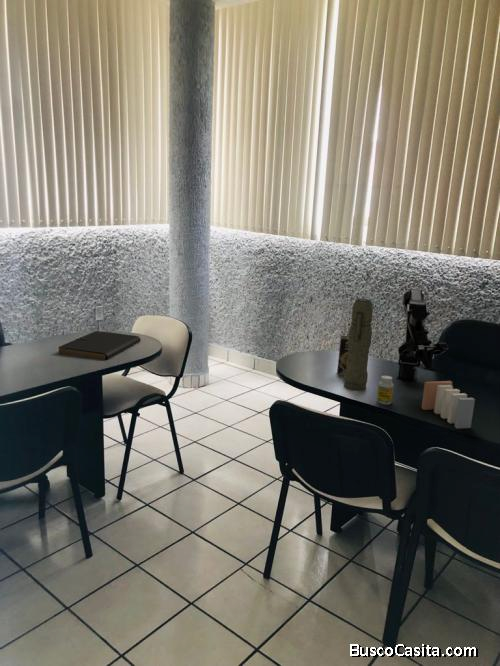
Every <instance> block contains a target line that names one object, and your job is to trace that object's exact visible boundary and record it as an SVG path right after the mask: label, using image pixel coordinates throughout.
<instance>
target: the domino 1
mask: <svg viewBox="0 0 500 666" xmlns="http://www.w3.org/2000/svg"><path fill="white" fill-rule="evenodd" d="M438 385H451V386H453V381H451V380H441V381H437V380H436V381H433V380H432V381H424V386H423V395H422V401H421V409H422V410H425V411H427V410H428V411H429V410H434V408H435V401H436V393H437V386H438Z"/></svg>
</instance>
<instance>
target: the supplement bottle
mask: <svg viewBox="0 0 500 666" xmlns="http://www.w3.org/2000/svg"><path fill="white" fill-rule="evenodd" d="M380 380H381V381H379V382H378V386H377V387H378V388H377V396H376V397H377V398H376V402H378V404H382V405H391V404H392V403H393V396H394V388H395V387H394V386H395V385H394V383H393V377H392V376H391V375H381V377H380Z"/></svg>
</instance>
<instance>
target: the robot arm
mask: <svg viewBox="0 0 500 666" xmlns="http://www.w3.org/2000/svg"><path fill="white" fill-rule="evenodd" d="M422 291H423V290H422V289H420V288H409V289H408V291H407V292H405V293H404V294H403V297H402V303H401V304H402V306H403V311H404V313H405V314H406V327H405V341H404V342H403V343H402V344H401V345H399V347H398V349H397V351H398V358H397V365H398V373H397V374H398V375H397V376H396V379H398V380H402V381H406V382H413V381H415V380H417V375H418V369H417V368H419V367H421V363H422V364H423V366H424V367H425V368H426V370H427V371H430V370H431V369H432V365H433V360H434V356H440V355H442V354H443V353H445V352H446V351H447V350H449V347H448V344H447V343H446V342H436V343H434V344H433V343H432V340H430V339H429V337H428V336H429V334H430V332H429V330H426V327H425V324H426V321H427V318H428V317H429V316H430V313H431V312H430V309H429V306H428V305H427V303H426V301H425V294H423V292H422ZM432 344H433V345H432Z"/></svg>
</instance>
